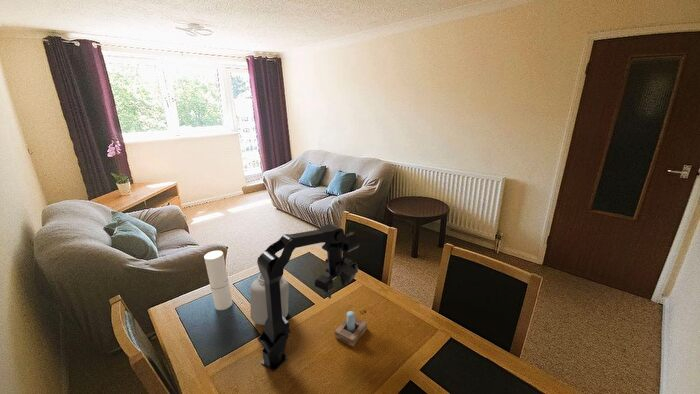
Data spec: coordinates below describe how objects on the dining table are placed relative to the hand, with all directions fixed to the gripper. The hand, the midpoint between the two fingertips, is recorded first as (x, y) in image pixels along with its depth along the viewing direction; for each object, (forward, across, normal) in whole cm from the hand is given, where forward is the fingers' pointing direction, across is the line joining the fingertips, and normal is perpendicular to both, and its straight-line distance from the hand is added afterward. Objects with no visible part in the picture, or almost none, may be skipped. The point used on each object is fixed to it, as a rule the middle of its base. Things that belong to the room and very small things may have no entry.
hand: (336, 291), depth 111 cm
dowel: (+13, -4, -9) cm, 16 cm away
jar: (+13, -13, +24) cm, 30 cm away
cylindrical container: (+13, -21, +48) cm, 54 cm away
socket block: (+13, -4, -9) cm, 16 cm away
